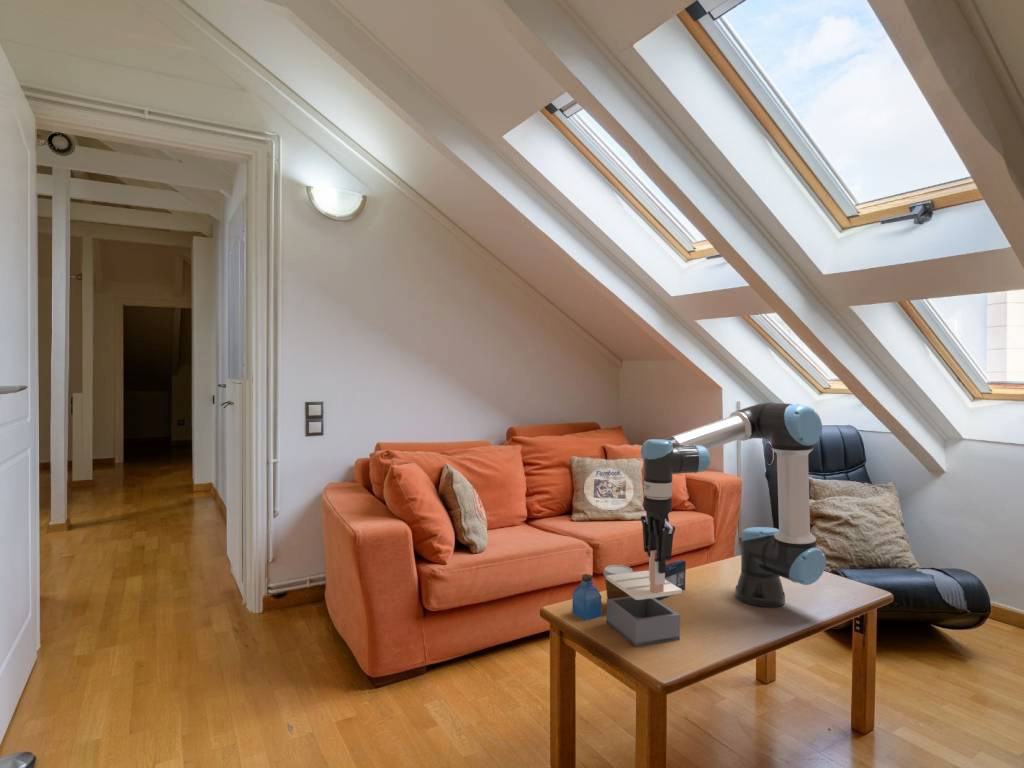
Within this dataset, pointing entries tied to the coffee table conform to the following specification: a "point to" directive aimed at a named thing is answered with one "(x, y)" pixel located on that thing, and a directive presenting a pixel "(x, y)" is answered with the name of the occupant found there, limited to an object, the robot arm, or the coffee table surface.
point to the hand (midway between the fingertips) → (656, 582)
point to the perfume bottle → (586, 599)
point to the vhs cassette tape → (675, 575)
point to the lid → (643, 583)
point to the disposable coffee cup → (611, 588)
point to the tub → (643, 620)
